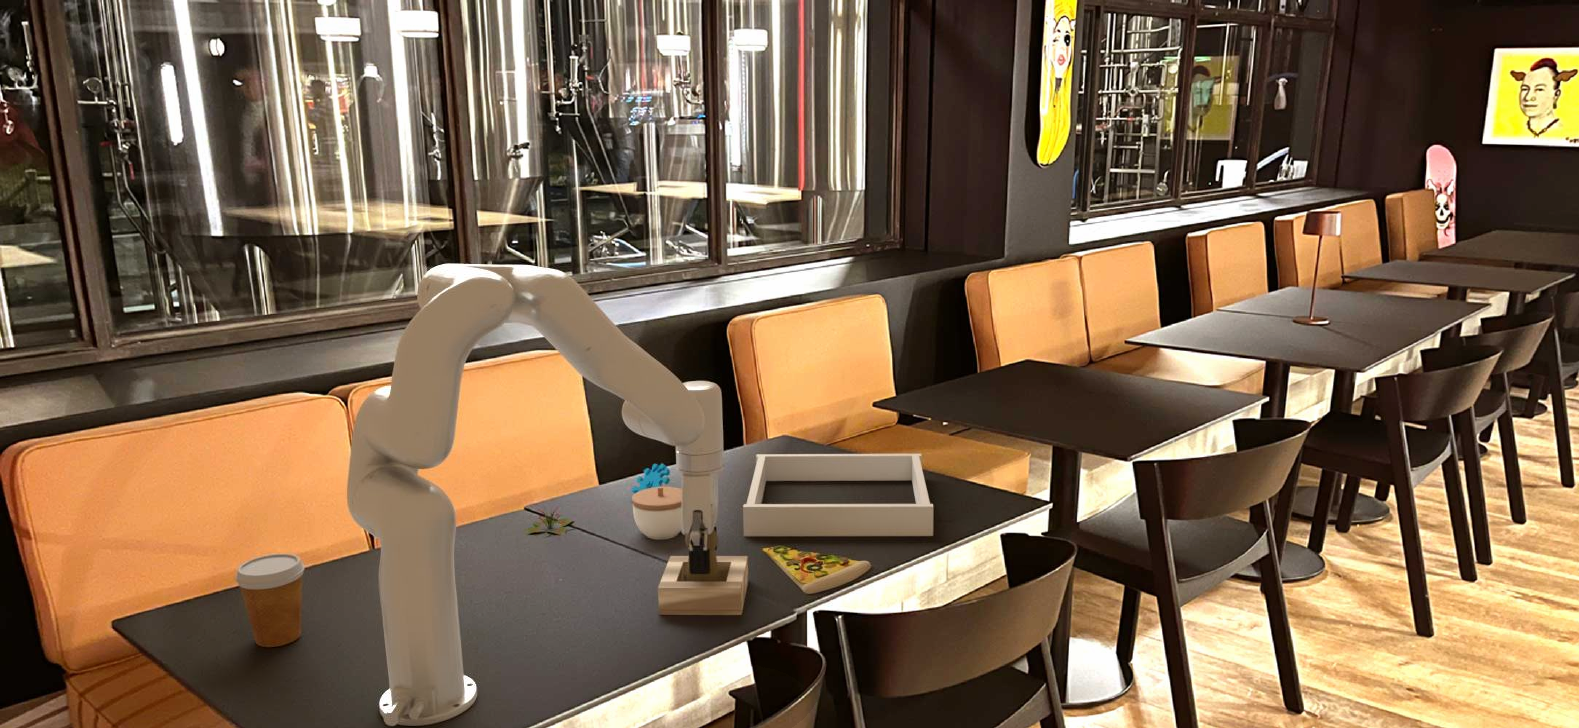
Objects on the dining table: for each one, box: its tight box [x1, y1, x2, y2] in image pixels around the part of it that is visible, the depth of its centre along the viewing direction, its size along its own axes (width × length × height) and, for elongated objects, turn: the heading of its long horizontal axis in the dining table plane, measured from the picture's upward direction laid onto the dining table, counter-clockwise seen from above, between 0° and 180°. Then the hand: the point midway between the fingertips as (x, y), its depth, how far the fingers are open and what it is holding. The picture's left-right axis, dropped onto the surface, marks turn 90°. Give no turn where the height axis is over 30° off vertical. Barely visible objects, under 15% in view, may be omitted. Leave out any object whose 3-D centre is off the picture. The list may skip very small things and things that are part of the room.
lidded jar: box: [631, 486, 682, 541], centre depth 207 cm, size 11×11×9 cm
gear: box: [630, 463, 671, 501], centre depth 225 cm, size 11×6×10 cm
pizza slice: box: [762, 545, 872, 595], centre depth 192 cm, size 16×21×3 cm
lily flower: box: [524, 506, 577, 538], centre depth 212 cm, size 12×12×5 cm
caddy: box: [657, 555, 749, 616], centre depth 179 cm, size 13×13×4 cm
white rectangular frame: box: [742, 453, 934, 537], centre depth 220 cm, size 33×35×6 cm
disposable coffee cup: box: [234, 553, 306, 648], centre depth 167 cm, size 10×10×12 cm
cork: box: [685, 529, 721, 582], centre depth 178 cm, size 6×6×11 cm
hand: (703, 561), depth 179 cm, fingers open, 9 cm apart
